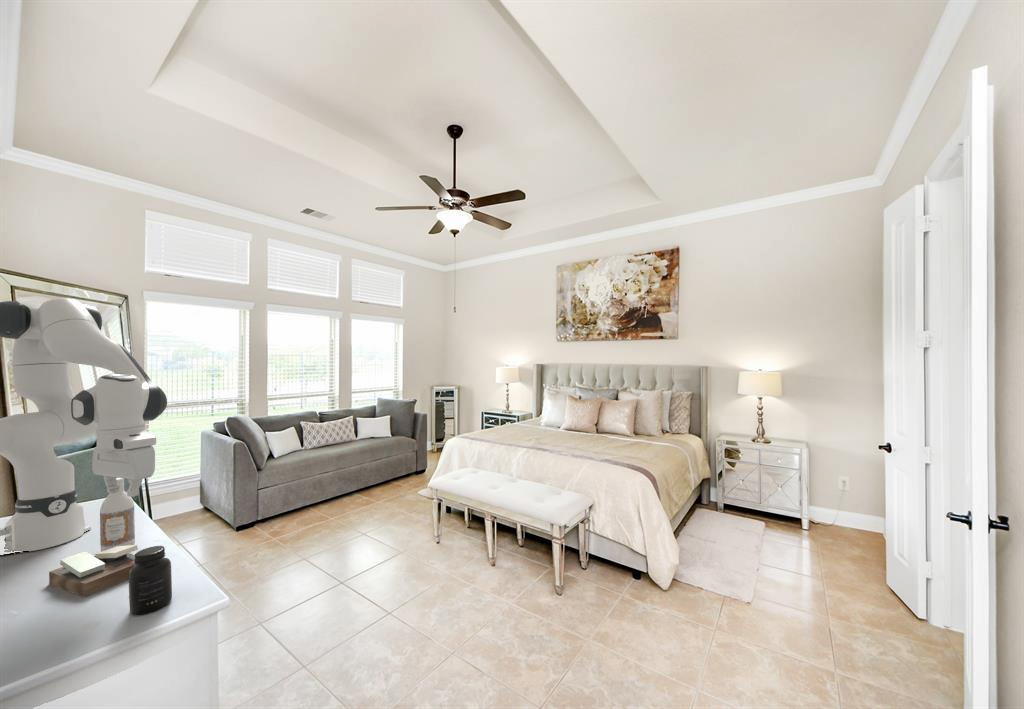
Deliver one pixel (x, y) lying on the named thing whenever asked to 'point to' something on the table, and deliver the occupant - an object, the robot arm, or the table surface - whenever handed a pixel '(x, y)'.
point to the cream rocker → (116, 551)
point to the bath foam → (117, 519)
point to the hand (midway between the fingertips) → (123, 494)
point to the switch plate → (94, 576)
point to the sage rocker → (82, 564)
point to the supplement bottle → (150, 581)
